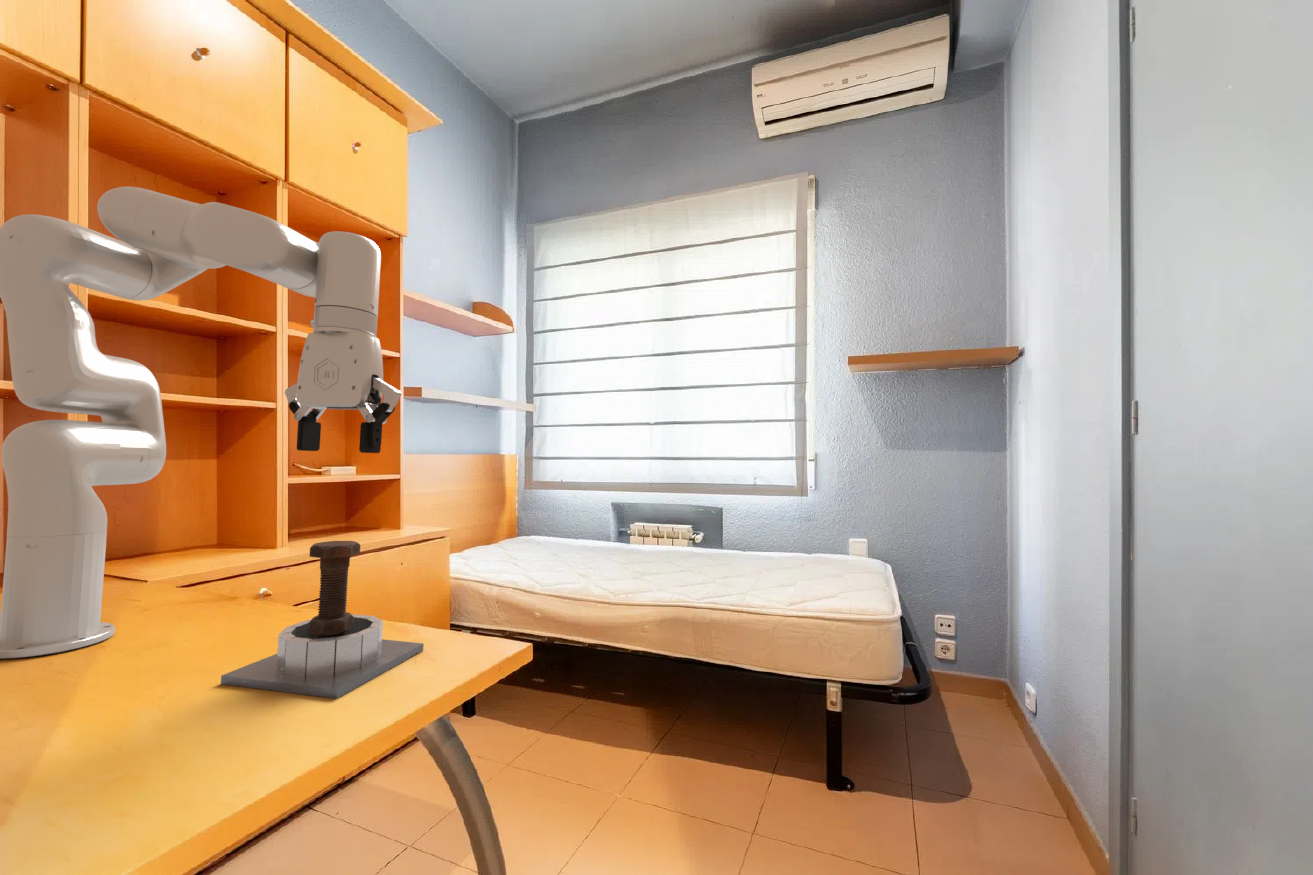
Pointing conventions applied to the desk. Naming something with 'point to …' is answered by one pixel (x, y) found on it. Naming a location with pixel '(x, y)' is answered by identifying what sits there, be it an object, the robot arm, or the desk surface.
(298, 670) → the ring fixture
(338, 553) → the bolt
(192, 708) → the desk surface
